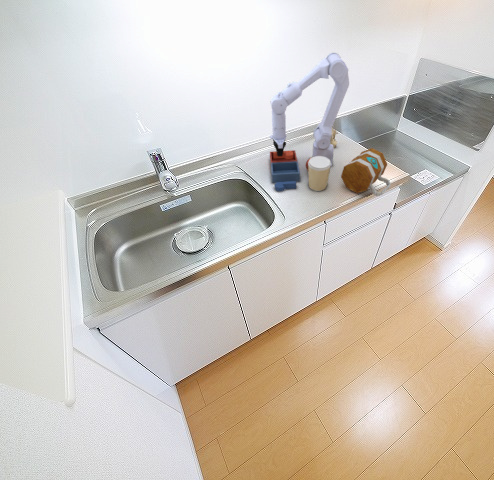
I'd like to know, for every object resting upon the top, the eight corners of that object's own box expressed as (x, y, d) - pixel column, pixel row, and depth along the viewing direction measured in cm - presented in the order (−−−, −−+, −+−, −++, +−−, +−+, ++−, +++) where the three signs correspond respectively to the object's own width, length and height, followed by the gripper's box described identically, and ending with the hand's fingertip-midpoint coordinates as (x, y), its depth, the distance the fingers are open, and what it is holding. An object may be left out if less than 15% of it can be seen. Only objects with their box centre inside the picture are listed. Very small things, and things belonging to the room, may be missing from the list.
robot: (337, 141, 145) (341, 113, 134) (336, 149, 140) (340, 120, 129) (317, 139, 147) (320, 111, 136) (315, 147, 141) (318, 118, 130)
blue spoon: (295, 184, 121) (295, 179, 119) (296, 190, 118) (296, 185, 116) (274, 185, 120) (274, 180, 118) (275, 192, 117) (275, 186, 115)
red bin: (270, 160, 134) (269, 151, 131) (295, 158, 135) (295, 150, 131) (271, 170, 128) (270, 162, 125) (297, 169, 129) (297, 160, 125)
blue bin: (271, 171, 128) (270, 162, 124) (297, 169, 128) (297, 161, 125) (272, 183, 122) (272, 174, 118) (299, 181, 122) (300, 172, 119)
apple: (317, 179, 123) (318, 164, 117) (302, 174, 126) (302, 158, 120) (325, 170, 128) (327, 155, 122) (310, 165, 131) (311, 150, 125)
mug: (353, 155, 106) (371, 141, 114) (335, 176, 118) (352, 161, 126) (388, 192, 106) (404, 175, 114) (366, 209, 117) (382, 192, 125)
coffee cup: (331, 182, 122) (334, 158, 113) (323, 194, 116) (326, 170, 107) (311, 177, 124) (313, 153, 115) (303, 188, 119) (304, 164, 110)
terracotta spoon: (274, 160, 127) (273, 154, 125) (273, 155, 130) (273, 149, 127) (293, 159, 127) (293, 153, 125) (292, 154, 130) (292, 148, 128)
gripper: (268, 118, 122) (270, 147, 132) (270, 134, 112) (272, 163, 122) (284, 118, 122) (284, 146, 132) (287, 133, 112) (287, 162, 123)
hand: (279, 154), depth 127 cm, fingers closed on terracotta spoon
